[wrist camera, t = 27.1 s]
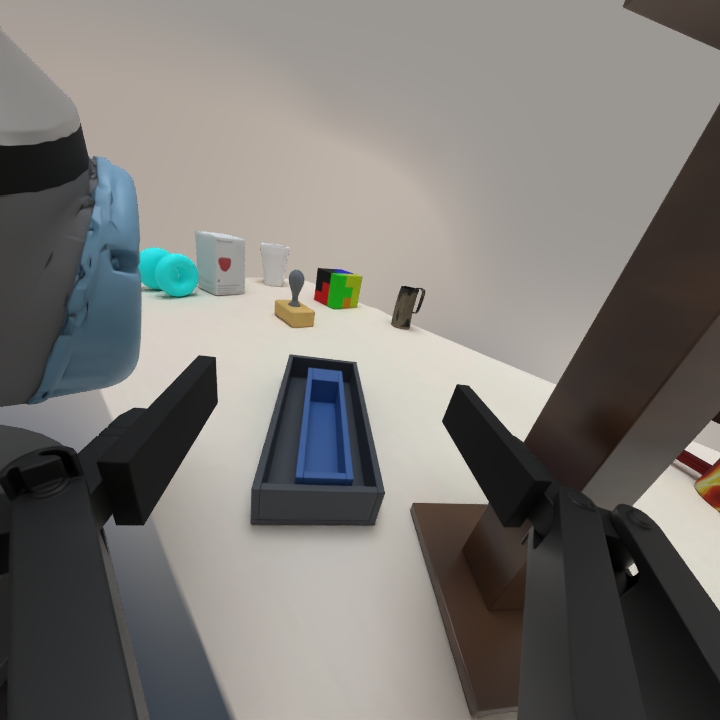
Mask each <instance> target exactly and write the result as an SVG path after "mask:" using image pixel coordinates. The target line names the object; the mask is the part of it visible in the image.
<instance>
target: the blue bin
mask: <svg viewBox="0 0 720 720" xmlns="http://www.w3.org/2000/svg"><path fill="white" fill-rule="evenodd" d="M353 479H354V478H353V469H352V460H351V451H350V441H349V432H348V423H347V414H346V405H345V396H344V386H343V377H342V371H335V370H326V369H317V368H308V377H307V385H306V393H305V401H304V409H303V417H302V426H301V434H300V442H299V450H298V458H297V467H296V475H295V483H294V484H306V485H337V486H352V483H353Z"/></svg>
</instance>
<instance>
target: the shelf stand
mask: <svg viewBox="0 0 720 720" xmlns="http://www.w3.org/2000/svg"><path fill="white" fill-rule="evenodd" d="M623 7H624V8H625V9H628V10H630V11H632V12H635V13H637V14H639V15H641V16H644V17H646V18H649V19H650V20H653V21H655V22H657V23H659V24H662V25H664V26H666V27H668V28H671V29H673V30H675V31H678V32H680V33H682V34H684V35H687V36H689V37H691V38H693V39H696V40H698V41H700V42H703V43H705V44H707V45H709V46H712V47H714V48H716V49H718V50H720V0H625V2H624V5H623ZM719 411H720V104H719V106H718V107H717V109H716V111H715V112H714V114H713V116H712V118H711V120H710V121H709V123H708V124H707V126H706V128H705V130H704V131H703V133H702V135H701V137H700V138H699V140H698V142H697V144H696V146H695V147H694V149H693V151H692V152H691V154H690V156H689V157H688V159H687V161H686V163H685V164H684V166H683V168H682V169H681V171H680V173H679V175H678V176H677V178H676V180H675V182H674V183H673V185H672V187H671V188H670V190H669V192H668V194H667V195H666V197H665V199H664V201H663V202H662V204H661V206H660V207H659V209H658V211H657V213H656V214H655V216H654V218H653V220H652V222H651V223H650V225H649V226H648V228H647V230H646V232H645V233H644V235H643V237H642V239H641V240H640V242H639V244H638V246H637V247H636V249H635V251H634V252H633V254H632V256H631V258H630V259H629V261H628V263H627V265H626V266H625V268H624V270H623V272H622V273H621V275H620V277H619V279H618V280H617V282H616V284H615V285H614V287H613V289H612V291H611V292H610V294H609V296H608V297H607V299H606V301H605V303H604V304H603V306H602V308H601V309H600V311H599V313H598V315H597V317H596V318H595V320H594V322H593V323H592V325H591V327H590V329H589V330H588V332H587V334H586V336H585V337H584V339H583V341H582V342H581V344H580V346H579V348H578V349H577V351H576V353H575V354H574V356H573V358H572V360H571V361H570V363H569V365H568V367H567V368H566V370H565V372H564V373H563V375H562V377H561V379H560V380H559V382H558V384H557V386H556V387H555V389H554V391H553V392H552V394H551V396H550V398H549V399H548V401H547V403H546V405H545V406H544V408H543V410H542V412H541V413H540V415H539V417H538V418H537V420H536V422H535V424H534V425H533V427H532V429H531V431H530V432H529V434H528V436H527V437H526V439H525V441H524V443H525V444H526V445H527V446H528V447H529V449H530V450H531V451H532V452H533V454H535V455H536V456H537V457H538V459H539V461H541V462H542V463H543V464H544V465H545V466H546V467H547V468H548V470H549V471H550V472H551V473H552V474H553V475H554V476H555V477H556V478H557V480H558V481H559V482H560V483H561V484H562V485H563V486H566V487H571V488H573V489H576V490H578V491H580V492H581V493H583V494H585V495H586V496H587V497H588V498H590V499H591V500H592V501H593V502H594V503H595V505H596V506H597V507H600V508H603V509H606V510H610V511H613V510H614V508H615V507H616V506H617V505H618V504H627V505H630V506H633V504H634V503H635V502H636V501H637V500H638V499H639V498H640V497H641V496H642V495H643V494H644V493H645V491H646V490H647V489H648V488H649V487H650V486H651V485H652V484H653V483H654V482H655V481H656V480H657V478H658V477H659V476H660V475H661V474H662V473H663V472H664V471H665V470H666V469H667V468H668V467H669V465H670V464H671V463H672V462H673V461H674V460H675V459H676V458H677V457H678V456H679V455H680V454H681V452H682V451H683V450H684V449H685V448H686V447H687V446H688V445H689V444H690V443H691V442H692V441H693V439H694V438H695V437H696V436H697V435H698V434H699V433H700V432H701V431H702V430H703V428H705V426H706V425H707V424H708V423H709V422H710V421H711V420H712V419H713V418H714V417H715V416H716V415H717V413H718V412H719ZM410 510H411V514H412V517H413V520H414V524H415V527H416V530H417V534H418V537H419V541H420V544H421V547H422V551H423V554H424V557H425V561H426V564H427V568H428V571H429V574H430V578H431V581H432V585H433V588H434V591H435V595H436V598H437V601H438V605H439V608H440V612H441V615H442V618H443V622H444V625H445V628H446V632H447V635H448V639H449V642H450V645H451V649H452V652H453V655H454V659H455V662H456V666H457V669H458V672H459V676H460V679H461V682H462V686H463V689H464V693H465V696H466V699H467V703H468V706H469V709H470V713H471V716H473V717H476V716H483V715H491V714H498V713H505V712H513V711H518V700H519V684H520V667H521V651H522V634H523V618H524V601H525V585H526V568H527V552H528V541H527V542H525V544H524V545H522V544H520V543H521V541H522V539H523V538H524V536H525V535H526V534H527V532H528V531H529V530H530V528H531V527H532V524H531V522H530V521H529V520H528V518H526V520H525V521H524V523H523V524H522V526H521V527H503V525H502V523H501V521H500V520H499V518H498V516H497V515H496V513H495V511H494V510H493V508H492V506H491V504H490V503H488V505H487V504H440V503H413V504H412V507H411V509H410Z"/></svg>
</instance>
